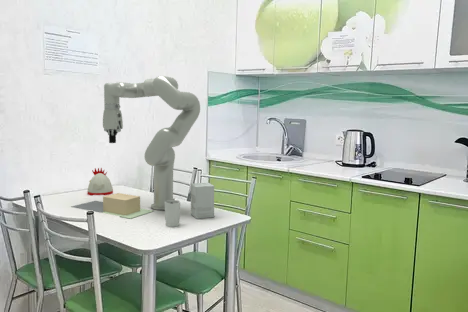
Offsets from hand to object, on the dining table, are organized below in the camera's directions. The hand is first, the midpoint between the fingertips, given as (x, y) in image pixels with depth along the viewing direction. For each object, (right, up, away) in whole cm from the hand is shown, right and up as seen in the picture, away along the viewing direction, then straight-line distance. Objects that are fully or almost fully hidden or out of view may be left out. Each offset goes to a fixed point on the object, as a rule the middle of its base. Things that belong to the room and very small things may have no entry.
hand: (112, 142), depth 212 cm
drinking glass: (+37, -37, -36) cm, 63 cm away
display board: (+3, -33, -13) cm, 36 cm away
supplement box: (+48, -35, -21) cm, 63 cm away
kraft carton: (+10, -33, -17) cm, 38 cm away
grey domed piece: (-14, -29, +23) cm, 39 cm away
